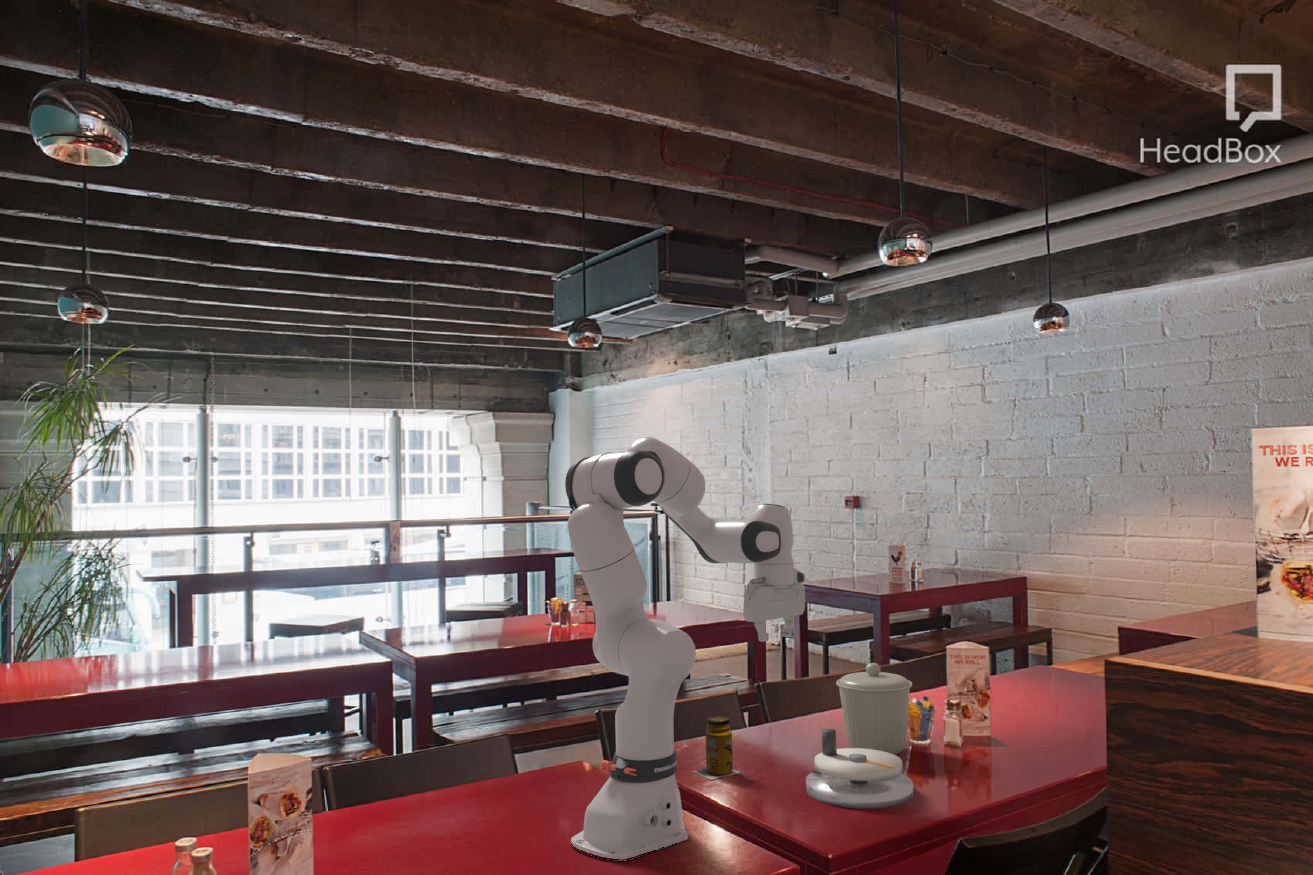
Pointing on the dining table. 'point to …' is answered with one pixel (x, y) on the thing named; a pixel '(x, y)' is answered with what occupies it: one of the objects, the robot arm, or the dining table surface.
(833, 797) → the disc
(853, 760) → the handwheel
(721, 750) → the condiment
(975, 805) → the dining table surface
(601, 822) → the robot arm
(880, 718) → the canister
